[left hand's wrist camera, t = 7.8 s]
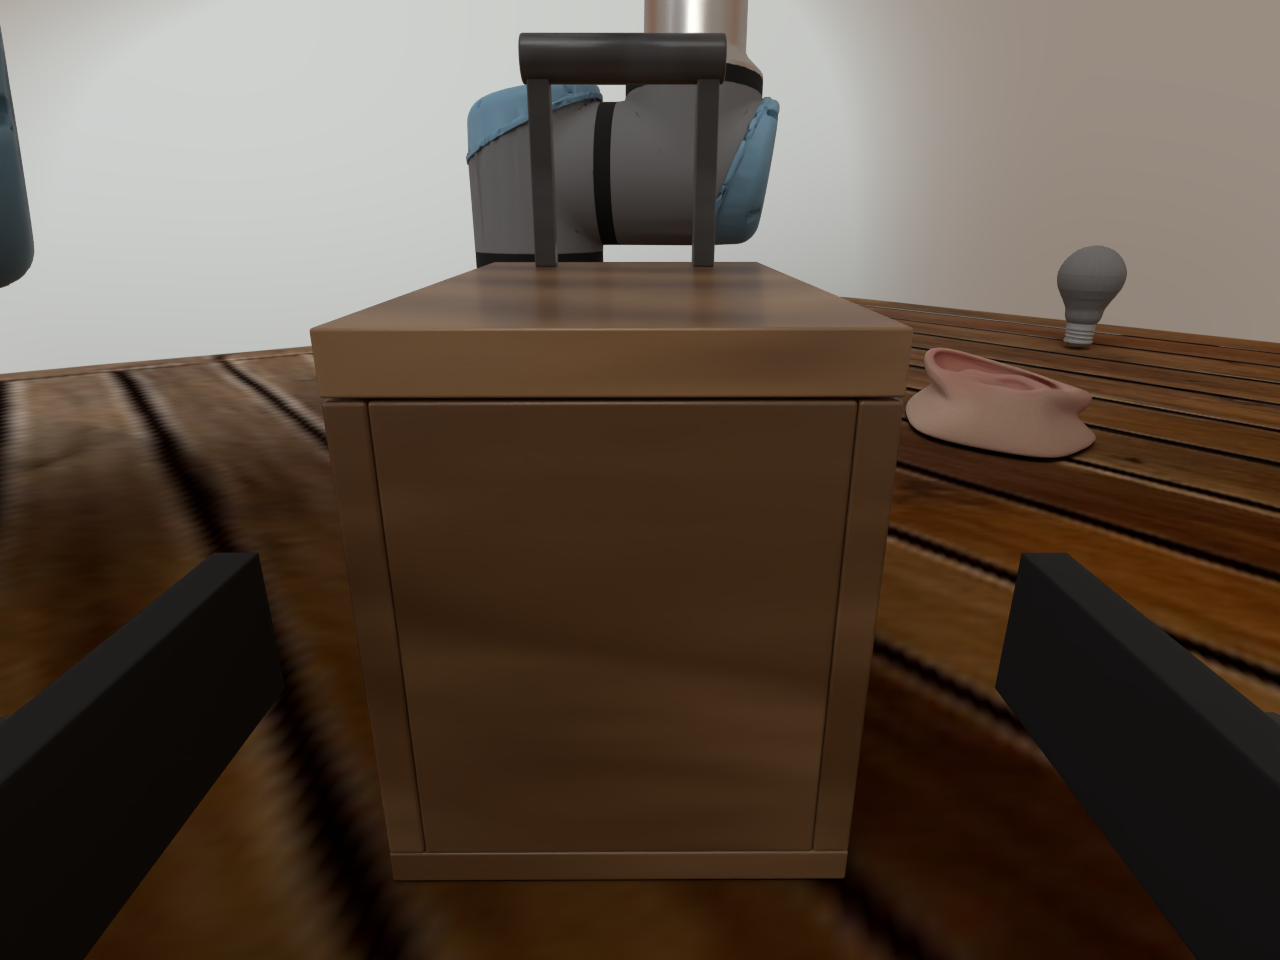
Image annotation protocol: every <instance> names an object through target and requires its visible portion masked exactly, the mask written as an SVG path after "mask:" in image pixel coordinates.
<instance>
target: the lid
mask: <svg viewBox="0 0 1280 960" xmlns="http://www.w3.org/2000/svg"><path fill="white" fill-rule="evenodd" d="M726 60H727V39H726V34H725V33H521V34H520V36H519V65H520V73H521V78H522V81H523V83H524V84H525V85H527V103H528V124H529V145H530V166H531V187H532V208H533V229H534V250H535V262H494V263H491V264H488V265H485V266H483V267H480V268H477V269H474V270H472V271H469V272H466V273H463V274H461V275H458V276H455V277H452V278H449V279H447V280H444V281H441V282H439V283H436V284H433V285H430V286H427V287H425V288H422V289H419V290H416V291H413V292H411V293H408V294H405V295H402V296H400V297H397V298H394V299H391V300H389V301H386V302H383V303H380V304H378V305H375V306H372V307H369V308H366V309H364V310H361V311H358V312H355V313H352V314H350V315H347V316H344V317H341V318H339V319H336V320H333V321H330V322H328V323H325V324H322V325H319V326H316V327H314V328H311V329H310V336H311V343H312V349H313V356H314V362H315V369H316V375H317V382H318V389H319V395H320V397H321V398H742V397H904V396H905V393H906V385H907V377H908V369H909V362H910V354H911V346H912V338H913V328H911V327H909V326H907V325H904V324H902V323H900V322H897V321H895V320H893V319H890V318H888V317H885V316H883V315H881V314H878V313H876V312H874V311H871V310H869V309H867V308H864V307H862V306H859V305H857V304H855V303H852V302H850V301H848V300H845V299H843V298H840V297H838V296H836V295H833V294H831V293H829V292H826V291H824V290H821V289H819V288H817V287H814V286H812V285H810V284H807V283H805V282H803V281H800V280H798V279H795V278H793V277H791V276H788V275H786V274H784V273H781V272H779V271H776V270H774V269H772V268H769V267H767V266H765V265H762V264H760V263H758V262H714V244H715V213H716V182H717V151H718V121H719V90H720V85H722V84H723V83H724V79H725V72H726ZM551 85H696V98H695V142H694V186H693V231H692V262H558V255H557V228H556V201H555V175H554V148H553V121H552V94H551Z"/></svg>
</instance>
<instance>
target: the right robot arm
mask: <svg viewBox="0 0 1280 960" xmlns="http://www.w3.org/2000/svg"><path fill="white" fill-rule="evenodd" d="M747 10H748V0H645V10H644V33H725V34H726V39H727V60H726V72H725V79H724V83H723V84H722V85H720V90H719V121H718V151H717V182H716V213H715V244H714V245H722V244H739V243H743V242H745V241H747V240H748V239H750V238H751V237H752V236H753V235H754V233H755V232H756V230H757V228H758V224H759V221H760V217H761V212H762V208H763V203H764V198H765V193H766V188H767V182H768V177H769V172H770V166H771V160H772V155H773V149H774V142H775V136H776V129H777V121H778V113H779V103H778V102H777V101H776V100H772V99H771V98H770V97H764V99H762V89H763V75H762V73H761V71H760V70H759V69H758V68H757V67H756V66H755V64H754V63H753V62H752V61H751V60H750V59H749V58H748V57H747V54H746V35H747ZM551 94H552V121H553V148H554V175H555V201H556V228H557V255H558V262H603V245H692V231H693V186H694V142H695V98H696V85H626V99H625V101H621V102H603V97H602V94H601V93H600V90H599V88H598V86H597V85H551ZM467 124H468V153H467V156H466V160H467V164H468V165H469V176H470V188H471V200H472V213H473V225H474V238H475V250H476V263H477V268H480V267H483V266H485V265H488V264H491V263H494V262H535V250H534V229H533V208H532V187H531V166H530V145H529V124H528V103H527V85H522V86H517V87H512V88H508V89H504V90H500V91H497V92H494V93H491V94H489V95H486V96H485V97H483V98H481V99H480V100H478V101H477V102H476V103H475V104H474V105H473V106H472V108H471V110H470V112H469V115H468V121H467Z"/></svg>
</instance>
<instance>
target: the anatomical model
mask: <svg viewBox="0 0 1280 960" xmlns="http://www.w3.org/2000/svg"><path fill="white" fill-rule="evenodd" d="M924 366H925V370H926V372H927V374H928V376H929V378H930V379H931V383H930V384H929V385H928V386H927V387H926V388H924V389H923V390H921V391H920V392H918V393H917V394H915V395H914V396H913V397H912V398H911V399H910V400H909V401H908V403H907V405H906V414H907V417H908V420H909V422H910V423H911V425H912V426H913V427H914V428H915V429H917V430H918V431H920V432H921V433H923V434H926V435H928V436H931V437H934V438H937V439H940V440H944V441H948V442H952V443H955V444H960V445H965V446H969V447H974V448H979V449H985V450H990V451H996V452H1001V453H1007V454H1014V455H1020V456H1027V457H1037V458H1058V457H1064V456H1067V455H1071V454H1073V453H1076V452H1078V451H1080V450H1082V449H1085V448H1087V447H1088V446H1090V445H1091V444H1092V443H1093V442H1094V441H1095V440H1096V436H1095V434H1094V433H1093V432H1092V431H1091V430H1090V429H1089V428H1088V427H1087V426H1086V425H1085V424H1084V423H1082V422H1081V420H1080V419H1079V418H1078V415H1079V414H1080V413H1081V412H1082V411H1083V410H1085V409H1086V408H1088V407H1089V406H1090V404H1091V402H1092V396H1091V394H1090V393H1089V392H1087V391H1084V390H1082V389H1079V388H1076V387H1073V386H1070V385H1067V384H1064V383H1061V382H1058V381H1055V380H1052V379H1049V378H1047V377H1044V376H1041V375H1038V374H1035V373H1033V372H1030V371H1027V370H1024V369H1020V368H1017V367H1013V366H1010V365H1006V364H1003V363H1000V362H996V361H993V360H989V359H986V358H983V357H979V356H976V355H972V354H969V353H965V352H961V351H957V350H952V349H947V348H933V349H930V350H929V351H928V352H927V353H926V354H925V357H924Z"/></svg>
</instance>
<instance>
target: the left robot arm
mask: <svg viewBox="0 0 1280 960" xmlns="http://www.w3.org/2000/svg"><path fill="white" fill-rule="evenodd" d="M33 256H34V241H33V234H32V226H31V219H30V213H29V206H28V199H27V192H26V186H25V179H24V173H23V166H22V160H21V153H20V147H19V140H18V134H17V127H16V121H15V115H14V109H13V103H12V97H11V91H10V85H9V79H8V72H7V65H6V59H5V52H4V46H3V40H2V34H1V28H0V288H2V287H5V286H8V285H9V284H11V283H13V282H15V281H17V280H18V279H20V278H21V277H22V276H23V275H24V274H25V273H26V272H27V270H28V269H29V268H30V266H31V264H32V261H33ZM284 688H285V685H284V680H283V675H282V670H281V665H280V660H279V655H278V650H277V645H276V640H275V635H274V630H273V625H272V620H271V615H270V610H269V605H268V600H267V595H266V590H265V584H264V579H263V574H262V569H261V564H260V559H259V554H258V553H213V554H212V555H210V556H209V557H208V558H207V559H205V560H204V561H203V562H202V563H201V564H199V565H198V566H197V567H196V568H194V569H193V570H192V571H191V572H189V573H188V574H187V575H186V576H184V577H183V578H182V579H181V580H179V581H178V582H177V583H176V584H174V585H173V586H172V587H171V588H170V589H168V590H167V591H166V592H165V593H163V594H162V595H161V596H160V597H158V598H157V599H156V600H155V601H153V602H152V603H151V604H150V605H148V606H147V607H146V608H145V609H143V610H142V611H141V612H140V613H139V614H137V615H136V616H135V617H134V618H132V619H131V620H130V621H129V622H127V623H126V624H125V625H124V626H122V627H121V628H120V629H119V630H117V631H116V632H115V633H114V634H112V635H111V636H110V637H109V638H108V639H106V640H105V641H104V642H103V643H101V644H100V645H99V646H98V647H96V648H95V649H94V650H93V651H91V652H90V653H89V654H88V655H86V656H85V657H84V658H83V659H81V660H80V661H79V662H78V663H76V664H75V665H74V666H73V667H72V668H70V669H69V670H68V671H67V672H65V673H64V674H63V675H62V676H60V677H59V678H58V679H57V680H55V681H54V682H53V683H52V684H50V685H49V686H48V687H47V688H45V689H44V690H43V691H42V692H41V693H39V694H38V695H37V696H36V697H34V698H33V699H32V700H31V701H29V702H28V703H27V704H26V705H24V706H23V707H22V708H21V709H19V710H18V711H17V712H16V713H14V714H13V715H6V716H4V717H2V718H1V719H0V960H83V959H84V958H85V957H86V955H87V954H88V953H89V951H90V950H91V949H92V947H93V946H94V944H95V943H96V942H97V940H98V939H99V938H100V936H101V935H102V934H103V932H104V931H105V930H106V928H107V927H108V926H109V924H110V923H111V922H112V920H113V919H114V918H115V916H116V915H117V913H118V912H119V911H120V909H121V908H122V907H123V905H124V904H125V903H126V901H127V900H128V899H129V897H130V896H131V895H132V893H133V892H134V891H135V889H136V888H137V887H138V885H139V884H140V882H141V881H142V880H143V878H144V877H145V876H146V874H147V873H148V872H149V870H150V869H151V868H152V866H153V865H154V864H155V862H156V861H157V860H158V858H159V857H160V856H161V854H162V853H163V851H164V850H165V849H166V847H167V846H168V845H169V843H170V842H171V841H172V839H173V838H174V837H175V835H176V834H177V833H178V831H179V830H180V829H181V827H182V826H183V825H184V823H185V822H186V820H187V819H188V818H189V816H190V815H191V814H192V812H193V811H194V810H195V808H196V807H197V806H198V804H199V803H200V802H201V800H202V799H203V798H204V796H205V795H206V794H207V792H208V791H209V789H210V788H211V787H212V785H213V784H214V783H215V781H216V780H217V779H218V777H219V776H220V775H221V773H222V772H223V771H224V769H225V768H226V767H227V765H228V764H229V763H230V761H231V760H232V758H233V757H234V756H235V754H236V753H237V752H238V750H239V749H240V748H241V746H242V745H243V744H244V742H245V741H246V740H247V738H248V737H249V736H250V734H251V733H252V732H253V730H254V729H255V727H256V726H257V725H258V723H259V722H260V721H261V719H262V718H263V717H264V715H265V714H266V713H267V711H268V710H269V709H270V707H271V706H272V705H273V703H274V702H275V701H276V699H277V698H278V696H279V695H280V694H281V692H282V691H283V690H284ZM995 688H996V690H997V691H998V692H999V694H1000V695H1001V696H1002V698H1003V699H1004V701H1005V702H1006V703H1007V705H1008V706H1009V707H1010V709H1011V710H1012V711H1013V713H1014V714H1015V715H1016V717H1017V718H1018V719H1019V721H1020V722H1021V723H1022V725H1023V726H1024V727H1025V729H1026V730H1027V732H1028V733H1029V734H1030V736H1031V737H1032V738H1033V740H1034V741H1035V742H1036V744H1037V745H1038V746H1039V748H1040V749H1041V750H1042V752H1043V753H1044V754H1045V756H1046V757H1047V758H1048V760H1049V761H1050V763H1051V764H1052V765H1053V767H1054V768H1055V769H1056V771H1057V772H1058V773H1059V775H1060V776H1061V777H1062V779H1063V780H1064V781H1065V783H1066V784H1067V785H1068V787H1069V788H1070V789H1071V791H1072V792H1073V794H1074V795H1075V796H1076V798H1077V799H1078V800H1079V802H1080V803H1081V804H1082V806H1083V807H1084V808H1085V810H1086V811H1087V812H1088V814H1089V815H1090V816H1091V818H1092V819H1093V820H1094V822H1095V823H1096V825H1097V826H1098V827H1099V829H1100V830H1101V831H1102V833H1103V834H1104V835H1105V837H1106V838H1107V839H1108V841H1109V842H1110V843H1111V845H1112V846H1113V847H1114V849H1115V850H1116V851H1117V853H1118V854H1119V856H1120V857H1121V858H1122V860H1123V861H1124V862H1125V864H1126V865H1127V866H1128V868H1129V869H1130V870H1131V872H1132V873H1133V874H1134V876H1135V877H1136V878H1137V880H1138V881H1139V882H1140V884H1141V885H1142V887H1143V888H1144V889H1145V891H1146V892H1147V893H1148V895H1149V896H1150V897H1151V899H1152V900H1153V901H1154V903H1155V904H1156V905H1157V907H1158V908H1159V909H1160V911H1161V912H1162V913H1163V915H1164V916H1165V918H1166V919H1167V920H1168V922H1169V923H1170V924H1171V926H1172V927H1173V928H1174V930H1175V931H1176V932H1177V934H1178V935H1179V936H1180V938H1181V939H1182V940H1183V942H1184V943H1185V944H1186V946H1187V947H1188V949H1189V950H1190V951H1191V953H1192V954H1193V955H1194V957H1195V958H1196V959H1197V960H1280V715H1278V714H1276V713H1264V712H1263V711H1262V710H1261V709H1259V708H1258V707H1257V706H1256V705H1254V704H1253V703H1252V702H1251V701H1249V700H1248V699H1247V698H1246V697H1244V696H1243V695H1242V694H1241V693H1239V692H1238V691H1237V690H1236V689H1235V688H1233V687H1232V686H1231V685H1230V684H1228V683H1227V682H1226V681H1225V680H1223V679H1222V678H1221V677H1220V676H1218V675H1217V674H1216V673H1215V672H1213V671H1212V670H1211V669H1210V668H1208V667H1207V666H1206V665H1205V664H1204V663H1202V662H1201V661H1200V660H1199V659H1197V658H1196V657H1195V656H1194V655H1192V654H1191V653H1190V652H1189V651H1187V650H1186V649H1185V648H1184V647H1182V646H1181V645H1180V644H1179V643H1177V642H1176V641H1175V640H1174V639H1172V638H1171V637H1170V636H1169V635H1168V634H1166V633H1165V632H1164V631H1163V630H1161V629H1160V628H1159V627H1158V626H1156V625H1155V624H1154V623H1153V622H1151V621H1150V620H1149V619H1148V618H1146V617H1145V616H1144V615H1143V614H1141V613H1140V612H1139V611H1138V610H1137V609H1135V608H1134V607H1133V606H1132V605H1130V604H1129V603H1128V602H1127V601H1125V600H1124V599H1123V598H1122V597H1120V596H1119V595H1118V594H1117V593H1115V592H1114V591H1113V590H1112V589H1110V588H1109V587H1108V586H1107V585H1106V584H1104V583H1103V582H1102V581H1101V580H1099V579H1098V578H1097V577H1096V576H1094V575H1093V574H1092V573H1091V572H1089V571H1088V570H1087V569H1086V568H1084V567H1083V566H1082V565H1081V564H1079V563H1078V562H1077V561H1076V560H1075V559H1073V558H1072V557H1071V556H1070V555H1068V554H1067V553H1022V554H1021V559H1020V564H1019V569H1018V574H1017V579H1016V584H1015V590H1014V595H1013V600H1012V605H1011V610H1010V615H1009V620H1008V625H1007V630H1006V635H1005V640H1004V645H1003V650H1002V655H1001V660H1000V665H999V670H998V675H997V680H996V685H995Z"/></svg>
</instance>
